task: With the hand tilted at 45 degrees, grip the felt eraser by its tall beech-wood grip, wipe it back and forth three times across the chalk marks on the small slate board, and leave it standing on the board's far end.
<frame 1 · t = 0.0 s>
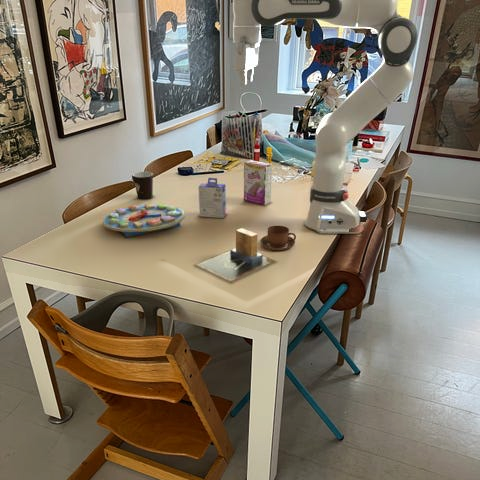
hand: (246, 83, 163), 48 cm above the table, tool pointing down, fingers open, 8 cm apart
candy bar box: (257, 202, 205), on the table
eraser: (246, 257, 157), point 1 cm above the table, touching slate board
slate board: (235, 264, 154), on the table
shape sorting clock: (144, 224, 184), on the table
cup and saucer: (277, 246, 166), on the table
ink cartridge box: (213, 215, 192), on the table
coffee mug: (144, 196, 212), on the table
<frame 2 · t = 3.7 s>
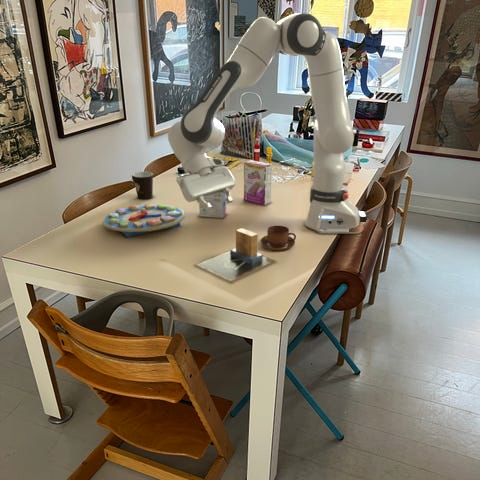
hand: (220, 205, 156), 15 cm above the table, tool tilted 45°, fingers open, 8 cm apart
nothing on the table moved.
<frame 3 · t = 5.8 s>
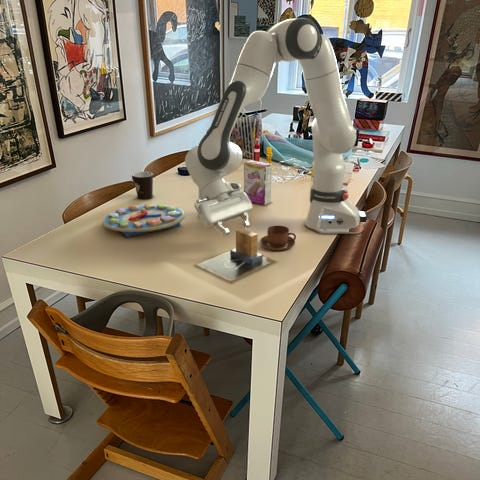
hand: (237, 230, 155), 9 cm above the table, tool tilted 45°, fingers open, 8 cm apart
nothing on the table moved.
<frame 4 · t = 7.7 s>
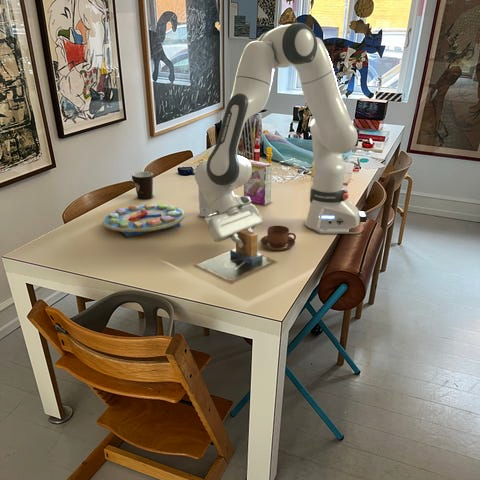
hand: (247, 244, 154), 5 cm above the table, tool tilted 45°, fingers closed on eraser, 3 cm apart
eraser: (246, 257, 157), point 1 cm above the table, touching gripper, slate board
everything else where it was.
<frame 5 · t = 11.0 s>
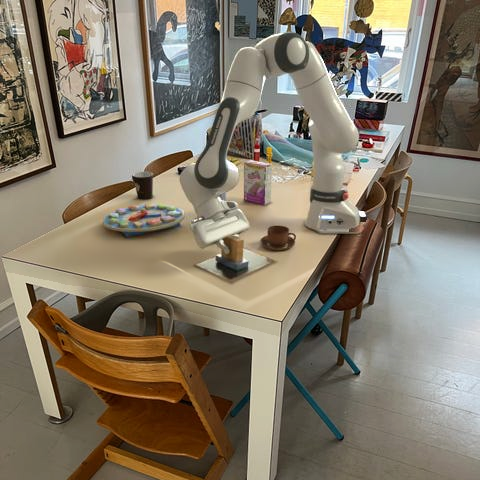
hand: (233, 251, 150), 5 cm above the table, tool tilted 45°, fingers closed on eraser, 3 cm apart
eraser: (231, 263, 153), point 1 cm above the table, touching gripper, slate board
everything else where it was.
when the fingers open (5 cm above the table, at t = 14.1 s): eraser stays where it is, resting on slate board.
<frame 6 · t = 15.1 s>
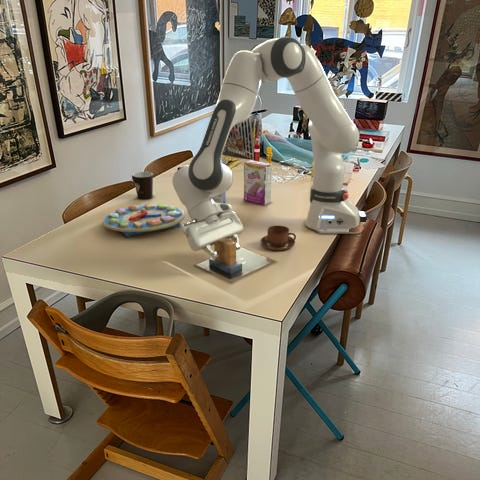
hand: (227, 253, 149), 5 cm above the table, tool tilted 45°, fingers open, 8 cm apart
eraser: (225, 266, 152), point 1 cm above the table, touching slate board
everything else where it was.
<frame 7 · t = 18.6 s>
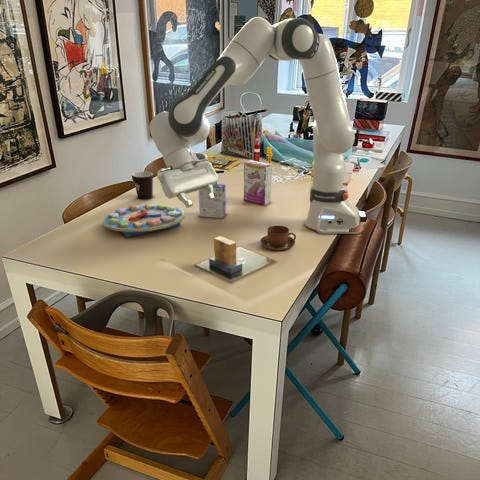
hand: (201, 203, 151), 18 cm above the table, tool tilted 40°, fingers open, 8 cm apart
nothing on the table moved.
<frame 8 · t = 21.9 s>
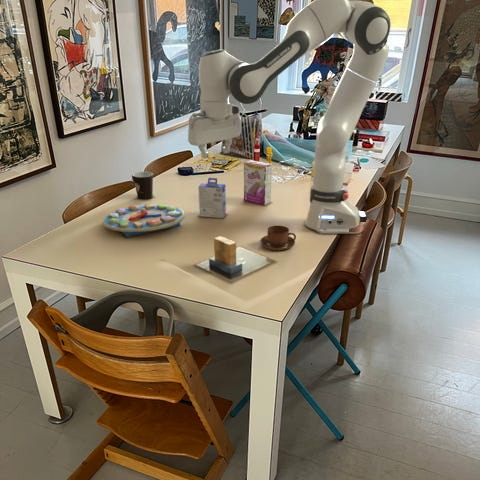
hand: (215, 155, 156), 29 cm above the table, tool pointing down, fingers open, 8 cm apart
nothing on the table moved.
at the end: eraser moved 9.3 cm from its start; eraser inside the target area on the slate board (0.4 cm from its centre), point 0.5 cm above the slate board's base; eraser tilted 0° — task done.
